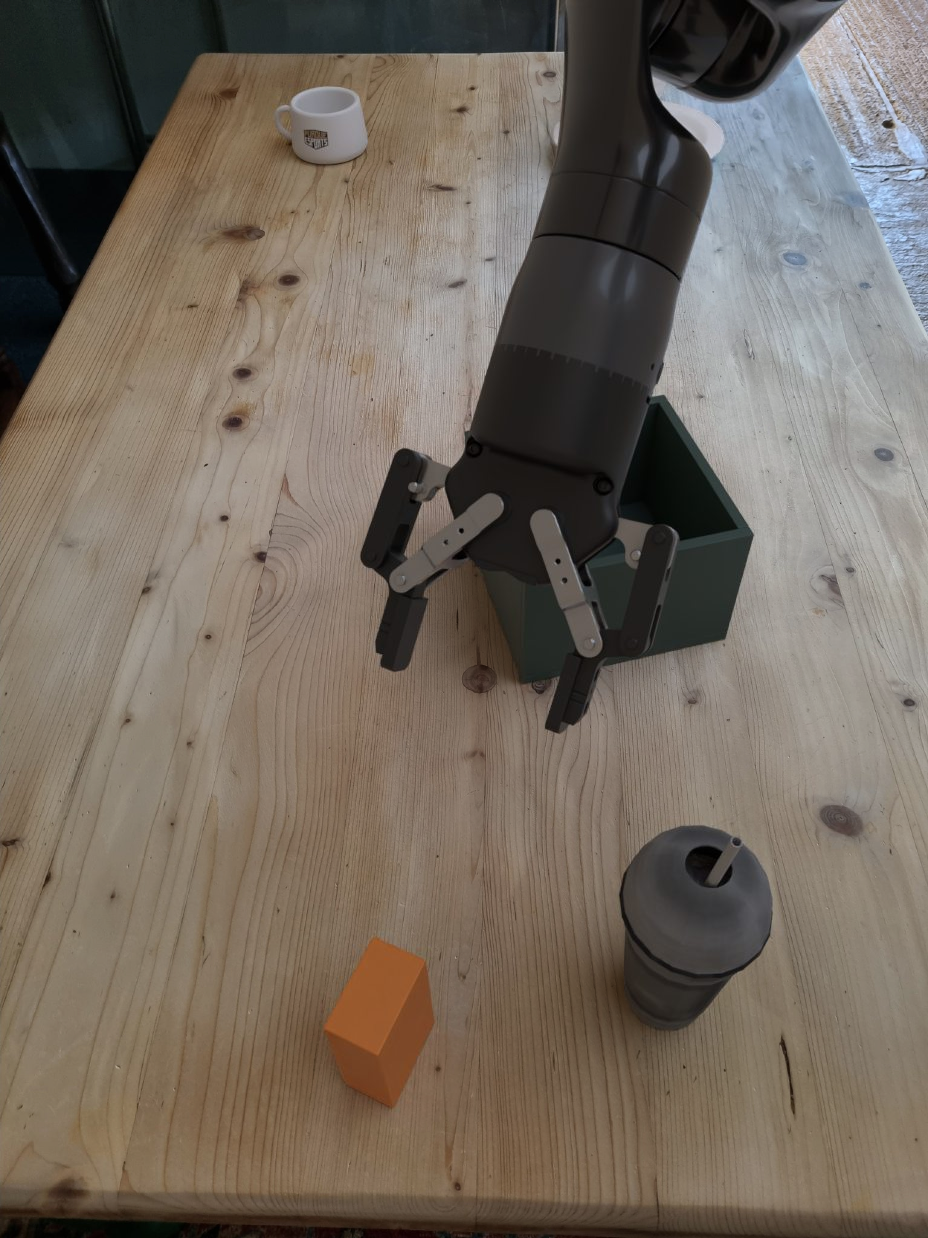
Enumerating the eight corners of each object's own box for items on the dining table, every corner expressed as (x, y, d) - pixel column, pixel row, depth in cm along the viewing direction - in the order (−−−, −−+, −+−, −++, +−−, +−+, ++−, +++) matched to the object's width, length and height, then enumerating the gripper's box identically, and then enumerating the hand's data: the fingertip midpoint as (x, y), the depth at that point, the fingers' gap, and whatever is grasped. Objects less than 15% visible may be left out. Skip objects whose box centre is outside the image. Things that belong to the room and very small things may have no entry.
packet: (435, 1022, 55) (426, 960, 49) (393, 1109, 53) (377, 1056, 46) (388, 999, 56) (373, 935, 50) (344, 1084, 53) (322, 1028, 47)
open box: (725, 639, 73) (754, 534, 65) (522, 684, 71) (525, 582, 62) (648, 499, 83) (664, 393, 74) (467, 536, 80) (464, 430, 72)
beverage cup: (704, 919, 59) (777, 730, 44) (748, 1044, 54) (846, 881, 39) (586, 940, 58) (617, 756, 43) (619, 1069, 54) (668, 913, 38)
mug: (378, 135, 129) (373, 86, 124) (355, 169, 123) (349, 119, 118) (291, 128, 131) (284, 79, 126) (264, 161, 125) (256, 111, 120)
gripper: (404, 307, 43) (307, 656, 46) (722, 386, 39) (598, 766, 41) (460, 346, 51) (373, 646, 53) (733, 416, 46) (627, 739, 49)
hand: (472, 698), depth 47 cm, fingers open, 8 cm apart
